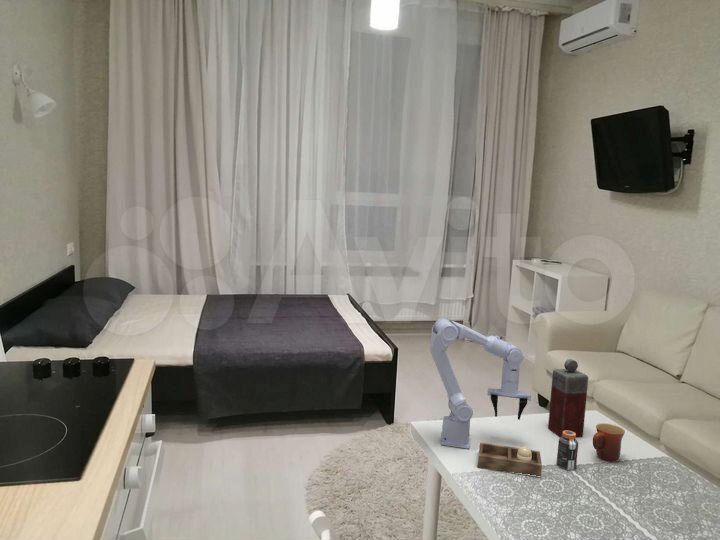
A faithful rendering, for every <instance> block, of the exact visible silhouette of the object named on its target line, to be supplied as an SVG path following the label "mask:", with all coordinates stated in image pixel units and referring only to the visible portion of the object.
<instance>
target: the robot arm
mask: <svg viewBox="0 0 720 540" xmlns="http://www.w3.org/2000/svg"><path fill="white" fill-rule="evenodd" d="M464 338H465V339H467V340H470V341H472V342H474V343H476V344H479V345H481V346H483V350H484V351H486V353H487V352H488V353H489V354H492V355H494V356H496V357H498V358H500V359H502V368H501V370H502V372H501V381H500V382H501V383H500V388H490V387H489V388H487V396H489V397H490V401H491V404H492V406H493V410H494V417H498V398H499V397H504V398H511V399H518V400H519V402H518V412H517V420H518V421H520V420H521V417H522V413H523V412H524V409H525V407H526V406H527V405H528V401H530V402H531V400H532V393H531V392H530V393H528V392H524V391H519V383H520V371H521V369H520V367H521V363H522V362H523V360H524V358H525V357H524V355H523V351H522V350H521V349H520V348H518V347H517V346H516V345H514V344H513V343H512V342H510V341H505V340H503V339H501V338H500V336H498V335H496V334H495V336H494V335H489V336H486V335H483V334H481V333H479V332H477V331H476V330H475V329H472V328H470V327H468V326H466V325H464V324H462V323H459V322H456V321H453V320H451V321H450V320H449V319H448V318H444V317H442V318H441V317H440V318H439V319H437V320H436V321H435V322H434V324H433V326H432V327H431V336H430V342H429V352H430V354H431V356H432V359H433V362H434V364H435V367H436V370H437V372H438V374H439V377H440V378H441V379H440V380H441V381H442V383H443V387H444V389H445V392H446V396H447V399H448V408H449V410H450V413H449V415H444V416H443V418H442V426H441V427H442V428H441V440H440V441H441V443H440V445H441V446H447V447H454V448H461V449H467V450H469V449H470V445H471V444H470V443H471V438H470V429H471V419H472V418H473V416H474V410H473V408H472V407H471V406H470V404H468V402H467V401H466V398H465V396H464V395H463V392H462V390H461V388H460V385H459V382H458V380H457V377H456V376H455V375H456V374H455V372H454V370H453V367H452V365H451V362H450V359H449V357H448V355H447V350H448V347H449V346H450V345H451V344H453V342H455V340H456V339H457V340H461V339H464Z"/></svg>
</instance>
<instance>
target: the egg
mask: <svg viewBox="0 0 720 540" xmlns="http://www.w3.org/2000/svg"><path fill="white" fill-rule="evenodd" d="M518 448H519V449H518V452H517V460H520V461H526V462H531V459H532V452H531V450H532V449H530V448H529V447H528V446H520V447H518Z"/></svg>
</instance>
